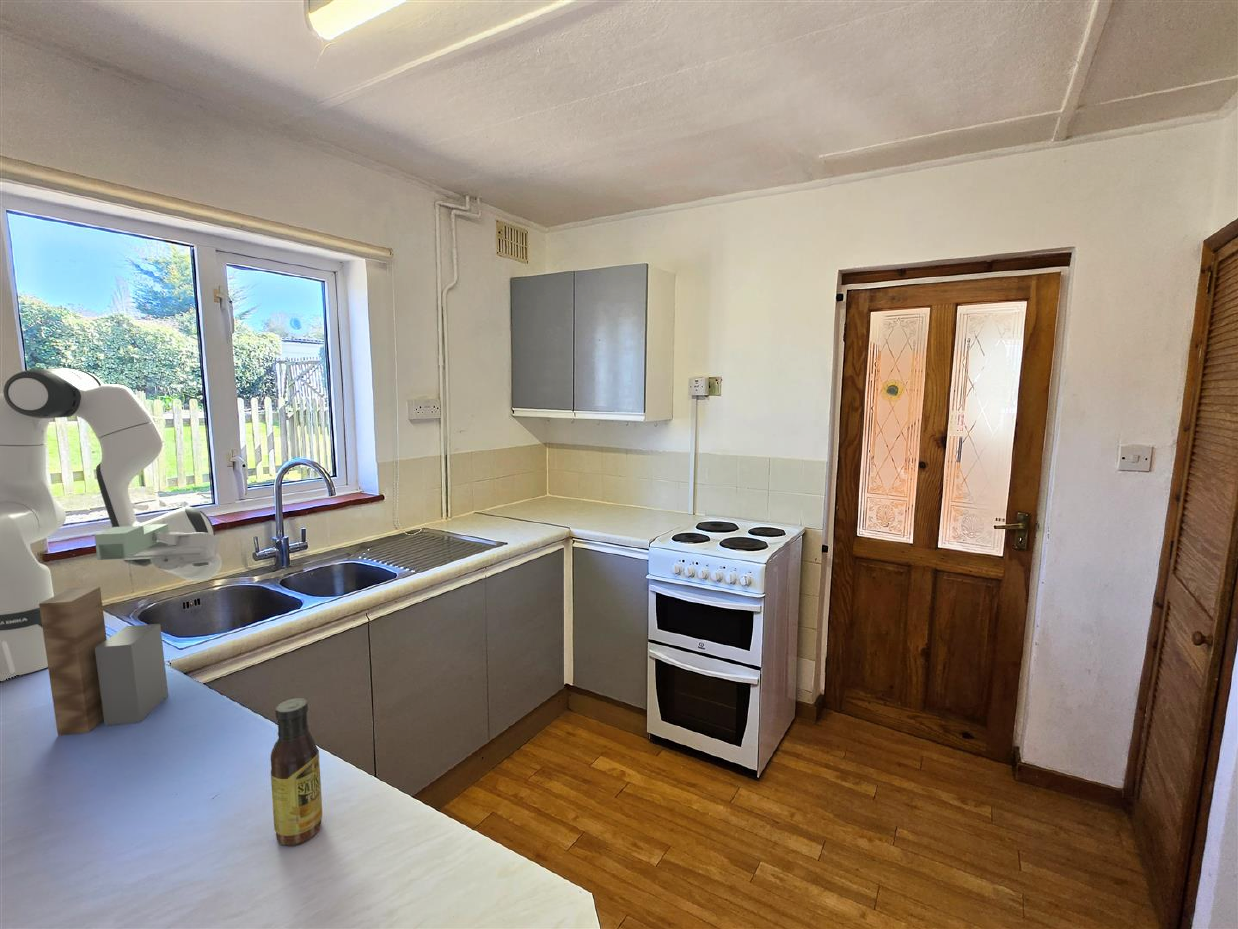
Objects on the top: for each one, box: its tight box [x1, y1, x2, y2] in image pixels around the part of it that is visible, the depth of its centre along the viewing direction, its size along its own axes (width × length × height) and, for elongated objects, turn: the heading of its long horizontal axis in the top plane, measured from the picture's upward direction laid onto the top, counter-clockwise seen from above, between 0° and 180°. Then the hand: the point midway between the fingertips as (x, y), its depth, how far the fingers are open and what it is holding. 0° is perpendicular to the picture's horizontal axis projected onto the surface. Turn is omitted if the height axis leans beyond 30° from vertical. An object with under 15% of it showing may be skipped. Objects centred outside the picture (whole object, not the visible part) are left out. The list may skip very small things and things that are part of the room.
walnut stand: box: [39, 586, 108, 736], centre depth 112 cm, size 5×8×26 cm, turn 12°
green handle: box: [94, 524, 169, 561], centre depth 118 cm, size 5×16×5 cm, turn 12°
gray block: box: [95, 623, 169, 726], centre depth 117 cm, size 6×10×16 cm, turn 12°
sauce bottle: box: [270, 697, 323, 846], centre depth 84 cm, size 7×6×20 cm
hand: (141, 536), depth 120 cm, fingers closed on green handle, 4 cm apart
